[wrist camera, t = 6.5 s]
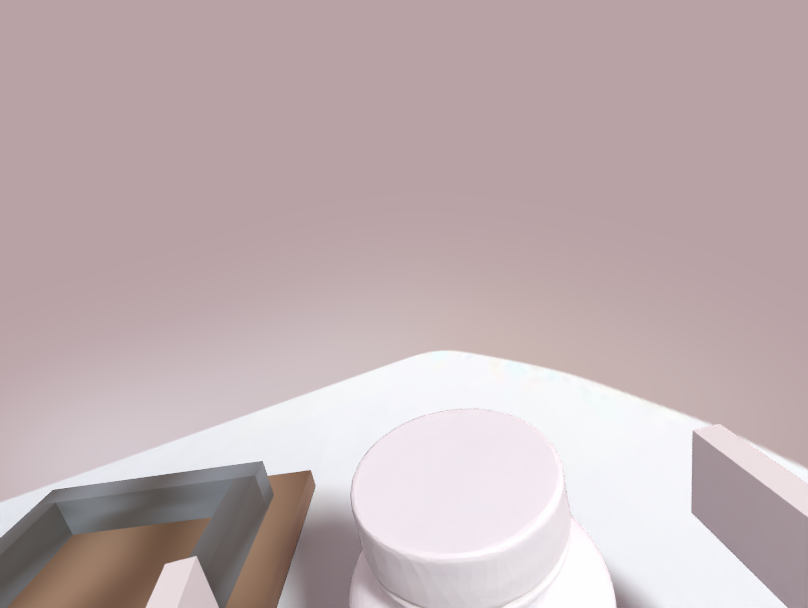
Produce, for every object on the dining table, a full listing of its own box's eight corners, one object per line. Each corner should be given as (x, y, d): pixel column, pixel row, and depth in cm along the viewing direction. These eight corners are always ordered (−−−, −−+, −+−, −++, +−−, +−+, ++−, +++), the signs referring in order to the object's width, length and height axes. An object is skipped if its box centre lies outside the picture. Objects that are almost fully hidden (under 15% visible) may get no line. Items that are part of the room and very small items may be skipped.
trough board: (-324, 932, 12) (-410, 869, 11) (72, 517, 25) (49, 473, 24) (178, 913, 10) (130, 839, 9) (315, 485, 24) (300, 437, 23)
